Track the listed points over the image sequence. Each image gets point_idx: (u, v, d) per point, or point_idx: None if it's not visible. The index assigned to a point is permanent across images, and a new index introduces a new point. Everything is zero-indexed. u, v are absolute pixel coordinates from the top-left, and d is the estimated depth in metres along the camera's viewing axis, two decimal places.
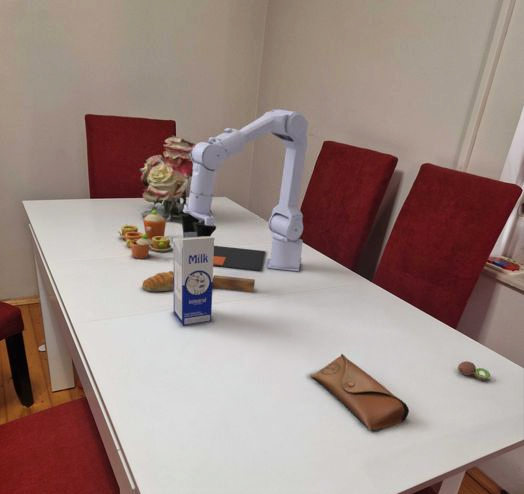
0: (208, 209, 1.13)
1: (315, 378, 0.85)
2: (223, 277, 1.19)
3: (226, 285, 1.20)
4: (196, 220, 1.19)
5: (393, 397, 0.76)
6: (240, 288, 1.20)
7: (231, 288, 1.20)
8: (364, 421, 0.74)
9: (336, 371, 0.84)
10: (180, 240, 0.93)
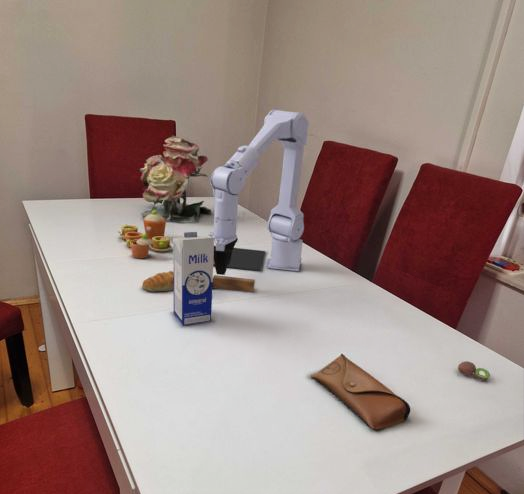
0: (229, 233, 1.12)
1: (316, 378, 0.85)
2: (223, 277, 1.19)
3: (226, 285, 1.20)
4: (232, 243, 1.19)
5: (395, 396, 0.76)
6: (240, 288, 1.20)
7: (231, 288, 1.20)
8: (367, 421, 0.74)
9: (336, 371, 0.84)
10: (180, 240, 0.93)
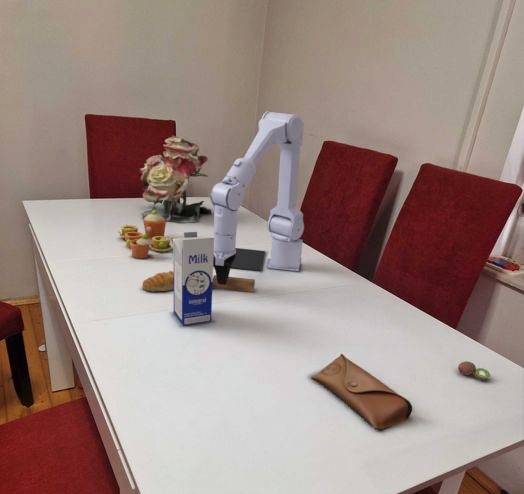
0: (228, 248, 1.14)
1: (316, 379, 0.85)
2: None
3: (226, 285, 1.20)
4: (229, 260, 1.19)
5: (397, 395, 0.77)
6: (240, 288, 1.20)
7: (231, 288, 1.20)
8: (370, 420, 0.75)
9: (337, 372, 0.84)
10: (180, 240, 0.93)
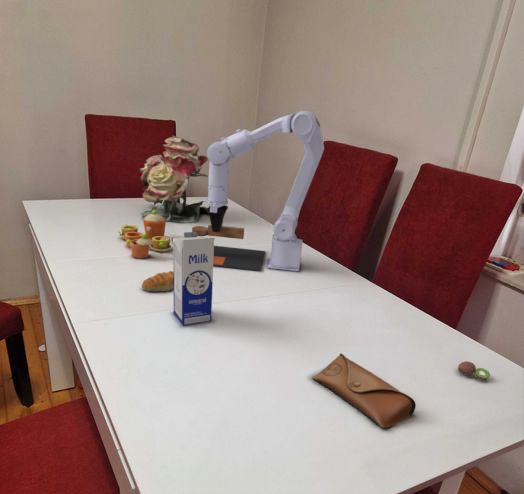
0: (221, 198, 1.32)
1: (318, 380, 0.84)
2: None
3: (219, 233, 1.38)
4: None
5: (400, 393, 0.77)
6: (231, 235, 1.38)
7: (224, 236, 1.38)
8: (376, 420, 0.75)
9: (338, 372, 0.84)
10: (180, 240, 0.93)
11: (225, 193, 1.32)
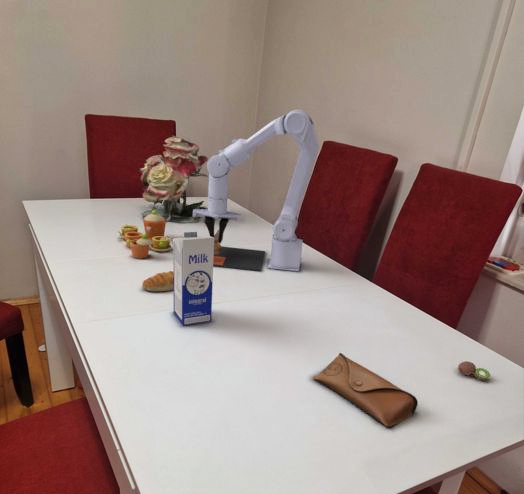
0: None
1: (319, 380, 0.84)
2: (217, 237, 1.40)
3: None
4: (214, 220, 1.39)
5: (402, 391, 0.78)
6: None
7: (220, 243, 1.43)
8: (380, 419, 0.75)
9: (339, 371, 0.84)
10: (180, 240, 0.93)
11: None
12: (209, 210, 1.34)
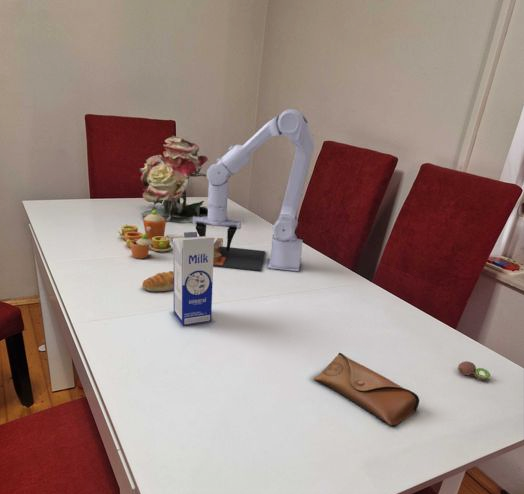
0: None
1: (320, 381, 0.84)
2: (217, 245, 1.41)
3: (219, 250, 1.43)
4: (205, 227, 1.40)
5: (404, 390, 0.78)
6: (221, 248, 1.46)
7: (219, 251, 1.44)
8: (383, 418, 0.75)
9: (340, 371, 0.84)
10: (180, 240, 0.93)
11: None
12: (209, 218, 1.35)
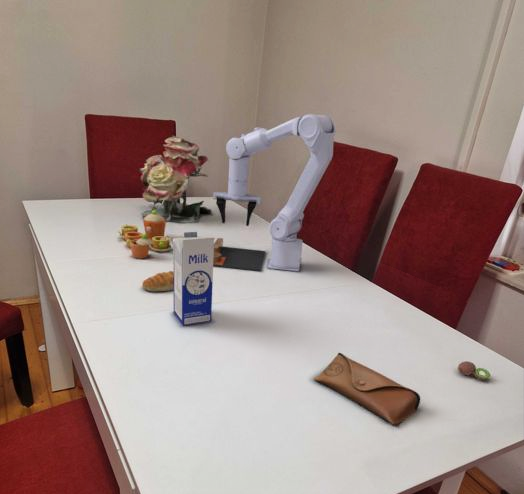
0: None
1: (321, 381, 0.84)
2: (217, 245, 1.41)
3: (219, 250, 1.43)
4: (225, 202, 1.42)
5: (405, 389, 0.79)
6: (221, 248, 1.46)
7: (219, 251, 1.44)
8: (386, 417, 0.76)
9: (340, 371, 0.84)
10: (180, 240, 0.93)
11: None
12: (229, 192, 1.38)
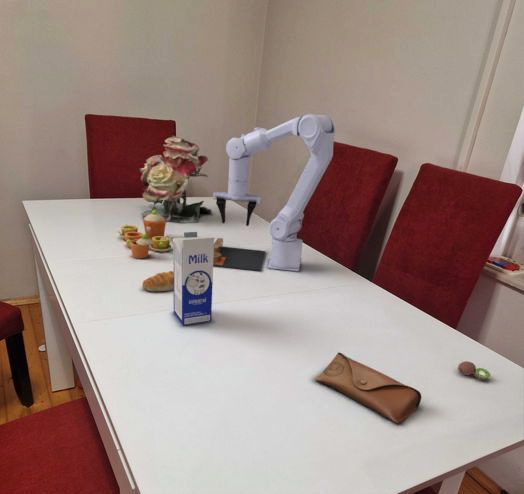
0: None
1: (322, 381, 0.84)
2: (217, 245, 1.41)
3: (219, 250, 1.43)
4: (225, 202, 1.42)
5: (407, 387, 0.79)
6: (221, 248, 1.46)
7: (219, 251, 1.44)
8: (388, 416, 0.76)
9: (341, 371, 0.84)
10: (180, 240, 0.93)
11: None
12: (229, 192, 1.38)
